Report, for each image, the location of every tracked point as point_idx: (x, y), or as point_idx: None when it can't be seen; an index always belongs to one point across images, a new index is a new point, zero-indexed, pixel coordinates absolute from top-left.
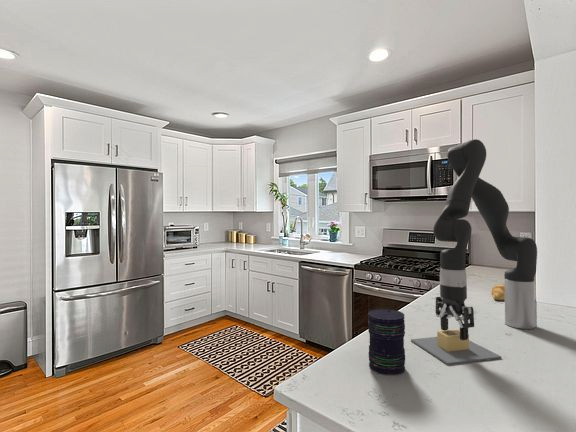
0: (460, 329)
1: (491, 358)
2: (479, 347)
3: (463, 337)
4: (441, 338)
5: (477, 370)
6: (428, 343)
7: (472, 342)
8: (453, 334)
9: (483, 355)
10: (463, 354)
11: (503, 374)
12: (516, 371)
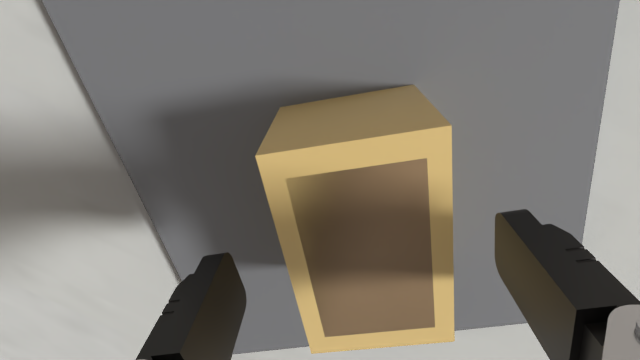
0: (175, 334)
1: None
2: None
3: (188, 283)
4: (358, 118)
5: (29, 165)
6: (470, 14)
7: None
8: (320, 246)
9: None
10: (226, 193)
11: (24, 264)
12: (81, 327)
